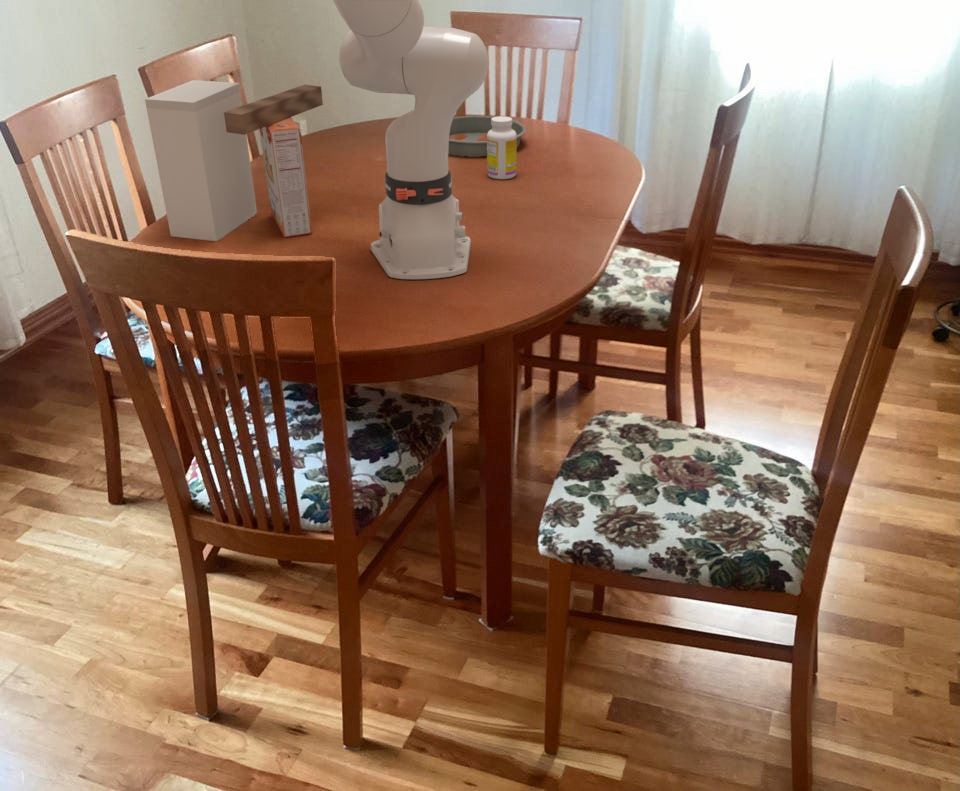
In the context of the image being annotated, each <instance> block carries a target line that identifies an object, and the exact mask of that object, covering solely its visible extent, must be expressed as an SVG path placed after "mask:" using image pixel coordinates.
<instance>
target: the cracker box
mask: <svg viewBox="0 0 960 791" xmlns="http://www.w3.org/2000/svg"><path fill="white" fill-rule="evenodd" d="M259 136H260V141H261V148H262V156H263V164H264V169H265V177H266V184H267V191H268V198H269V204H270V211H271V212H270V213H271V215H272V217H273V219H274V220H275V223H276V225H277V226H278V228H279V231H280V232H281V234H282V236H283V238H290V237H291V236H292V237H297V236H298V237H299V236H303V235H311V234H313V229H312V221H311V213H310V204H309V197H308V189H307V188H308V187H307V179H306V178H307V177H306V169H305V168H306V167H305V162H304V153H303V143H302V133H301V128H300V126H299V125H298V124H297V123H296V122H295V120H294V119H293V117H290V118H287V119H284V120H282V121H279V122H276V123H274V124H271V125H269V126H266V127H263V128H261V129H259Z"/></svg>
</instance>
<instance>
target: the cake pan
mask: <svg viewBox="0 0 960 791" xmlns="http://www.w3.org/2000/svg"><path fill="white" fill-rule="evenodd" d="M493 117H494V115H493V116H490V115H465V116H464V115H462V116H454V118H453V121H452V124H451V127H450V133H449V136H452V135H458V134H463V135H466V136H468V137H466V138H465V139H462V140H455V139H449V150H448V155H452V156H456V155H457V157H464V156H468V157H467V158H481V157H480V156H487V141H477V140H478V139H479V138H481V137H484V136H479V135H482V134H484V133H488V132H489V131H490V130H491V129H492V125H491V119H492V118H493ZM511 129H513V130H514V131H515V132H516V134H517V147H518V148H519V146H520V143H521V139H522V136H523V135H524V134H525V133H526V132H527V127H526V126H525V125H524V124H523V123H521V122H520V121H517V120H514V119H512V126H511ZM486 136H487V135H486ZM454 137H455V136H454Z"/></svg>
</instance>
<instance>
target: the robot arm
mask: <svg viewBox="0 0 960 791" xmlns="http://www.w3.org/2000/svg"><path fill="white" fill-rule="evenodd" d="M332 1H333V3H334V5H335V7H336V10H337V11H338V13H339V14H340V16H341V17H342V19H343V21H344V22H345V23H346V25H347V27H348V28H349V29H350V30H348V32H347V33H346V34H345V36H344V37H343V39H342V41H341V45H340V48H339V55H338V56H339V58H338V60H339V65H340V66H339V67H340V68H341V72H342V74H343V76H344V78H345V79H346V81H347V83H348V84H350V85H351V86H353V87H356V88H359V89H362V90H366V91H370V92H374V93H378V94H395V95H410V96H411V95H413V96H414V108H413V110H411V111H408V112H406V113H404V114H402V115H401V116H398V117H397V118H396V119H394V120H393V121H392V122H391V123H390V124H389V125H388V126H387V129H386V132H385V137H384V138H385V139H384V140H385V141H384V142H385V155H386V156H385V158H386V172H385V175H384V187H385V194H386V196H385V197H384V199H383V200H382V201H381V203H378V204H379V205H378V217H379V223H378V225H379V239H377V240H375V241H373V242H371V243H370V251H371V252H372V253H373V255H374V257H375V258H376V260H377V261H378V262H379V264H380V266H381V267H382V268H383V270H384V272H385V273H386V275H387V276H388V277H390V278H394V279H400V280H433V279H441V278H448V277H449V278H450V277H454V276H458V275H461V274H464V273H467V271H468V266H469V258H470V252H471V248H472V246H471V245H472V240H471V237H470V236H467V235H466V226H465V225H460V221H462V220H463V212H461V211H460V201H459V199H457V197H455V196H454V195H453V194H452V193H453V190H452V189H453V187H452V186H453V180H452V174H451V170H450V169H449V154H448V150H449V133H450V127H451V124H452V121H453V118H454V117H456V114H457V112H458V110H459V108H460V107H461V106H462V104H463V103H464V102H465V101H466V100H467V99H468V98H469V97H471V96H472V95H473V94H475V92H477V91H478V90H479V88H481V87H482V85H483V84H484V82H485V80H486V77H487V75H488V72H489V71H488V69H489V55H488V51H487V48H486V45H485V43H484V41H483V40H482V39H481V37H480V36H479V35H478V34H476V33H474V32H470V31H467V30H463V29H458V28H455V27H451V26H450V27H449V26H429V25H428V26H427V25H424V24H425V16H424V15H425V14H424V11H423V8H422V5H421V3H420V1H419V0H332Z"/></svg>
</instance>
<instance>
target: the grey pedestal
mask: <svg viewBox="0 0 960 791" xmlns="http://www.w3.org/2000/svg"><path fill="white" fill-rule="evenodd" d="M144 103H145V106H146V112H147V117H148V123H149V129H150V133H151V138H152V143H153V150H154V154H155V159H156V165H157V171H158V175H159V182H160V185H161V190H162V197H163V201H164V206H165V213H166V218H167V222H168V227H169V228H168V229H169V232H170V237H176V238H184V239H192V240H201V241H209V242H210V241H211V242H218V241H219V240H221V239H223V238H224V237H225V236H228V234H230V233H231V232H232V231H234V230H235V229H237V228H238V227H240V226H242V225H243V224H244V223H246V222H247V221H249V220H250V219H252V218H253V217H254V216H256V215H257V214H258V210H257V209H258V208H257V202H256V201H257V200H256V194H255V187H254V180H253V174H252V167H251V166H252V165H251V158H250V150H249V145H248V144H249V143H248V136H247V134H245V135H243V134H236V133H229V132H227V131H226V124H225V117H224V112H226V111H229V110H232V109H235V108H238V107H241V106H243V99H242V94H241V86H240V82H226V81H214V80H213V81H211V80H197V79H193V80H191V81H187V82H185V83H182V84H180V85H177V86H175V87H173V88H172V87H171V88H169V89H168V90H165V91H162V92H159V93H157V94H155V95H152V96H149V97H146V98H144ZM256 213H257V214H256ZM255 214H256V215H255ZM251 217H252V218H251ZM248 219H249V220H248Z"/></svg>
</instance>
